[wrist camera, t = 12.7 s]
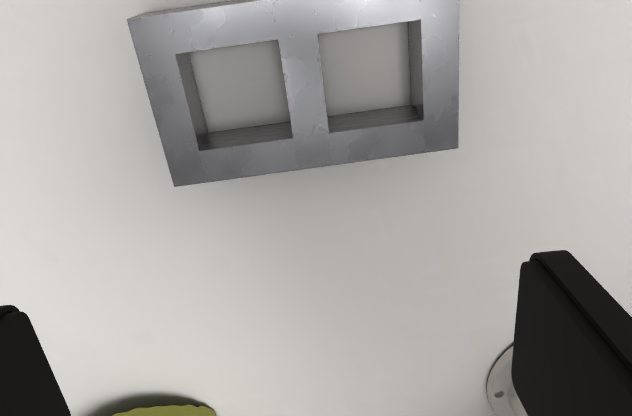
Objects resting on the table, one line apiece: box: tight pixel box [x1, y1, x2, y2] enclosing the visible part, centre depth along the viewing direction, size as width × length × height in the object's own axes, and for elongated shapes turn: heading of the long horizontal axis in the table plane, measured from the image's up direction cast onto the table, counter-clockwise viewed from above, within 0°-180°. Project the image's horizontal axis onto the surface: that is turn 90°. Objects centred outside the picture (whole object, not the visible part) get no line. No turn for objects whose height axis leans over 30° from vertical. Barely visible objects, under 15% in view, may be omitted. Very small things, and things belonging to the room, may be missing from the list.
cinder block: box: [127, 0, 459, 187], centre depth 30 cm, size 18×10×4 cm, turn 97°
